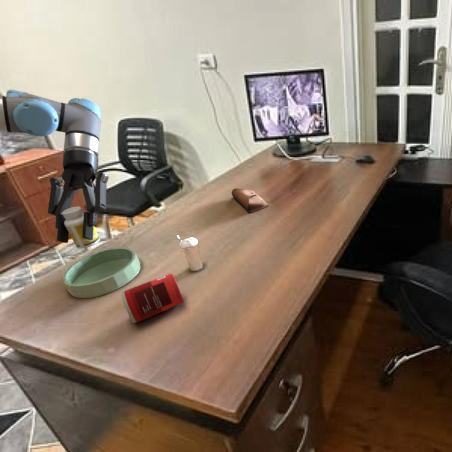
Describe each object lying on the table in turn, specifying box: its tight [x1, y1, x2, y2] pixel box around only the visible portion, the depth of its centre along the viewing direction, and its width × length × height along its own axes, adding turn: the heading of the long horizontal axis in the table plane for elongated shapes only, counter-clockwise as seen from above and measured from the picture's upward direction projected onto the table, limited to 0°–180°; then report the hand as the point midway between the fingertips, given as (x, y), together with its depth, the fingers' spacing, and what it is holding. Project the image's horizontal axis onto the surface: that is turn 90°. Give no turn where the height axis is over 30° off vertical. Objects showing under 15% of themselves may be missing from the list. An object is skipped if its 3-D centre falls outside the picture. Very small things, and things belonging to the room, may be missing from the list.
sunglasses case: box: [231, 188, 269, 213], centre depth 132 cm, size 18×7×7 cm
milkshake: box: [176, 235, 204, 272], centre depth 95 cm, size 4×5×10 cm
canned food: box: [121, 273, 185, 324], centre depth 81 cm, size 8×8×11 cm
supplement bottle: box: [62, 206, 101, 249], centre depth 88 cm, size 5×5×10 cm
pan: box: [61, 246, 141, 299], centre depth 96 cm, size 18×18×4 cm
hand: (75, 239), depth 86 cm, fingers closed on supplement bottle, 5 cm apart
